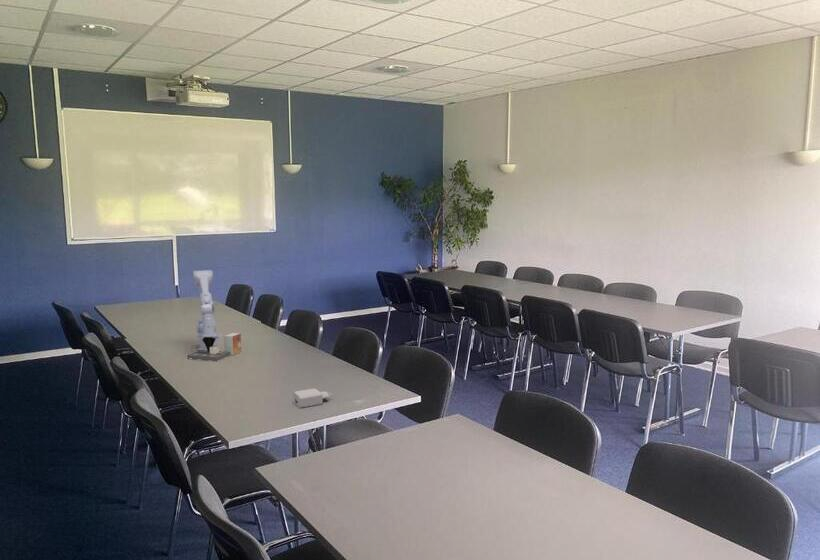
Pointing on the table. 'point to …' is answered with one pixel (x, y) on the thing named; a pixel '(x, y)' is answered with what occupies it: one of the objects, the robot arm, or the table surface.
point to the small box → (232, 343)
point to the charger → (309, 397)
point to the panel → (208, 355)
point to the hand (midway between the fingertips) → (209, 351)
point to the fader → (214, 349)
